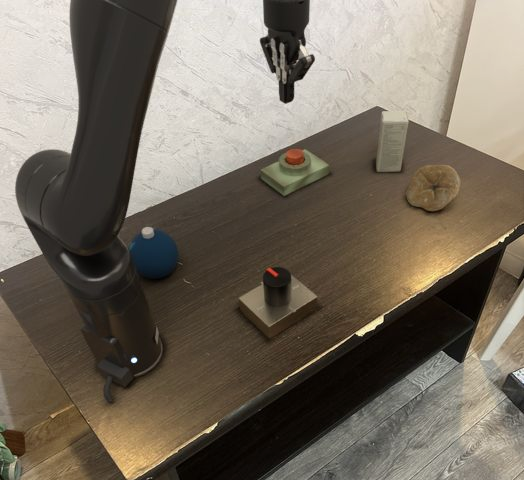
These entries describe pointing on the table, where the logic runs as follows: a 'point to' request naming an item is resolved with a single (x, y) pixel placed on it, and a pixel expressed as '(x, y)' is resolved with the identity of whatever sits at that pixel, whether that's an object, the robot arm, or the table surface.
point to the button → (295, 157)
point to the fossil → (433, 187)
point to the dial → (277, 286)
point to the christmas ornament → (154, 253)
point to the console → (277, 308)
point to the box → (391, 141)
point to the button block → (294, 173)
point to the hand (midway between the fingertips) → (286, 101)
